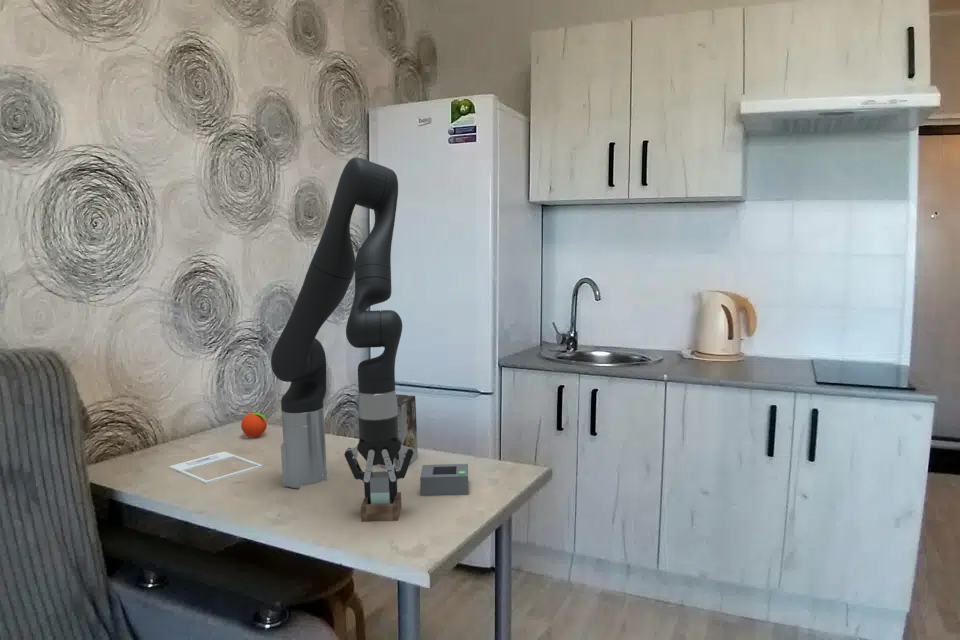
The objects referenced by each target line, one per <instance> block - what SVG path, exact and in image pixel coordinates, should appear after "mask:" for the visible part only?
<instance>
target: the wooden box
mask: <svg viewBox="0 0 960 640" xmlns="http://www.w3.org/2000/svg"><path fill="white" fill-rule="evenodd" d="M402 508H403V507H402V492H401V491H400V492H399V491H397V495H396V497H394V499H393V500H392V504H371V500H368V497H365V496H364V497H363V500H362V503H361V506H360V516H361V517H360V518H361V521H360V522H361V523H362V522H363V523H365V522H367V523H368V522H371V523H372V522H398V521H399V519H400V518H399V517H400V515H401V510H402Z"/></svg>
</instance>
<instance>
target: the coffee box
mask: <svg viewBox="0 0 960 640" xmlns="http://www.w3.org/2000/svg"><path fill="white" fill-rule="evenodd" d="M396 398H397V406H398V411H397V414H398V437H399V440H400V442H401V445H404V446H407V447H410V446H412V447H413V448H414V452H413V455H412V458H411V461H410V464H409V466H410V465H411V464H412V463H413V462H415V461H416V459H418V457H419V455H418V451H419V450H418V431H417V429H418V428H417V427H418V426H417V407H416V395H407V394H396ZM403 461H404V458H403V457H402V452H401V451H399V452H398V453H397V455H396V456H395V458H394V462H395V468H396V470H397V469H398V470H401V467H402V464H403ZM380 467H381V468H382V469H386V466H385V465H380Z"/></svg>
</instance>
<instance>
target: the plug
mask: <svg viewBox="0 0 960 640" xmlns="http://www.w3.org/2000/svg"><path fill="white" fill-rule="evenodd" d="M389 481H390V478H389V474H388V471H387V470H384V471H372V474H371V477H370V494H371V504H392V500H390V491H389Z"/></svg>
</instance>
